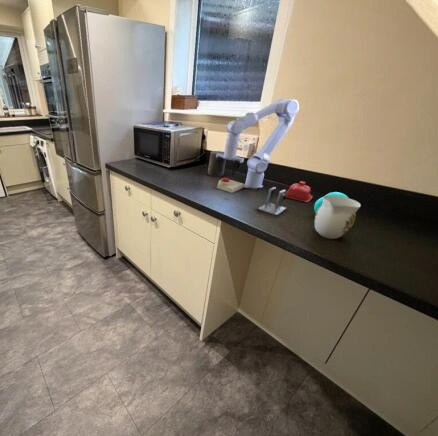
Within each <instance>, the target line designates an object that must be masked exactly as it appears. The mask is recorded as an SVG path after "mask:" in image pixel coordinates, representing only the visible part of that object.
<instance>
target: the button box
mask: <svg viewBox="0 0 438 436" xmlns="http://www.w3.org/2000/svg"><path fill="white" fill-rule="evenodd" d="M216 185H217V186H216V188H217V189H219V190H221V191H225V192H228V193H231V194H233V193H235V192H237V191H239V190H241V189H243V188H244V189H245V187H244V185H245V183H243V182H239V181H236V180H233V179H229V182H222V178H221V179H219V180H218V184H216Z"/></svg>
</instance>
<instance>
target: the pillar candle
mask: <svg viewBox="0 0 438 436" xmlns="http://www.w3.org/2000/svg"><path fill="white" fill-rule="evenodd" d="M224 152H225V151H222V150H221V151H220V150H213V151H211V152H210V153H209V154H210V155H209V162H208V169H207V175H208V176H209V177H214V178H215V177H216V178H220V177H223V176H224V175H225V168H226V162H227V159H225V161H224V164H223V170H222V172H219V169H218V164H217V161H216V159H217V157H216V154H217V153H221V154H224Z"/></svg>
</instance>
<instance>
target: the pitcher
mask: <svg viewBox="0 0 438 436" xmlns="http://www.w3.org/2000/svg"><path fill="white" fill-rule="evenodd" d="M322 197H323V203H322V205H321V206H320V207H319V208H318V210H317V212H316V213H315V215H314V221H313V223H314V229H315V231H316V232H317V233H318V235H319V236H321V237H324V238H326V239H331V240H332V239H333V240H335V239H338V238H341V237H342V236H344V235H345V234H346V233H347V232H349V231H350V230H351V229H352V227H353V225H354V224H355V221H356V216H357V211H358V210H359V209H360V208H361V206H362V205H361V203H360V202H358V201H357V200H355V199H353V198H349V197H348V198H346V197H341V196H334V195H328V196H325V195H324V196H322Z"/></svg>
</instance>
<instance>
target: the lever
mask: <svg viewBox="0 0 438 436" xmlns="http://www.w3.org/2000/svg"><path fill="white" fill-rule="evenodd" d="M280 191H281V190H278V189H276V190H274V191H273V193H272V195H273V196H274V197H276V198H278V194H279V192H280ZM286 199H287V197H286V195H284V198H283V201H285V200H286Z"/></svg>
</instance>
